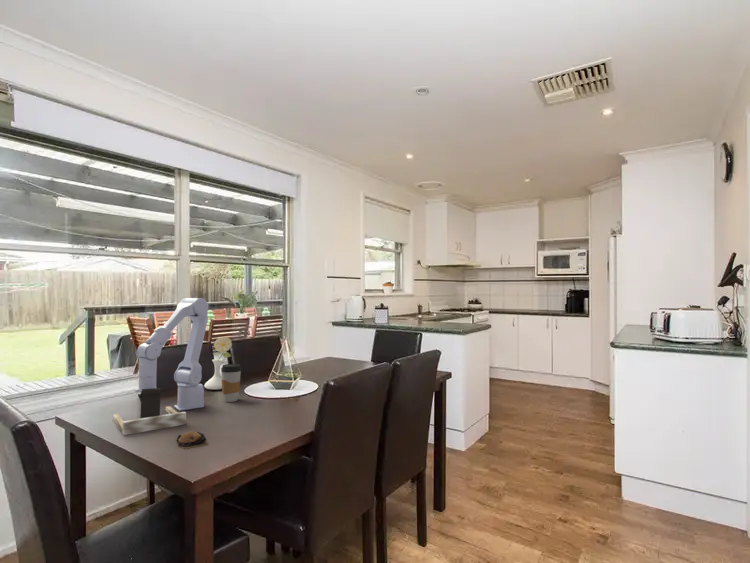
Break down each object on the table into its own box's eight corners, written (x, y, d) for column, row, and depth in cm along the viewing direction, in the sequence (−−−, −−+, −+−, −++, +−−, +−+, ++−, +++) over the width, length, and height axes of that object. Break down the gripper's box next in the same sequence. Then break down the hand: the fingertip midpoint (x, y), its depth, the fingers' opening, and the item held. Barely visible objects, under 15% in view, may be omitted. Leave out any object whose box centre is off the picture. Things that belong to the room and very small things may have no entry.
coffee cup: (244, 399, 184) (245, 364, 185) (228, 403, 177) (229, 367, 178) (232, 396, 189) (232, 362, 189) (216, 400, 182) (216, 365, 182)
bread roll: (210, 446, 131) (210, 434, 131) (180, 451, 126) (181, 439, 126) (201, 436, 140) (201, 425, 140) (173, 441, 135) (173, 429, 135)
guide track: (170, 410, 167) (170, 399, 167) (185, 424, 150) (186, 412, 150) (113, 418, 155) (113, 407, 155) (123, 435, 138) (123, 422, 138)
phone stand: (159, 425, 148) (160, 390, 149) (139, 427, 146) (140, 392, 146) (159, 418, 156) (160, 385, 157) (141, 420, 154) (142, 386, 154)
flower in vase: (199, 390, 199) (200, 337, 200) (212, 385, 210) (213, 334, 211) (224, 392, 197) (226, 338, 198) (236, 386, 208) (238, 335, 209)
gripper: (131, 374, 159) (130, 410, 159) (139, 380, 148) (138, 420, 148) (152, 372, 164) (151, 407, 163) (161, 378, 152) (160, 416, 152)
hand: (146, 413), depth 156 cm, fingers closed
